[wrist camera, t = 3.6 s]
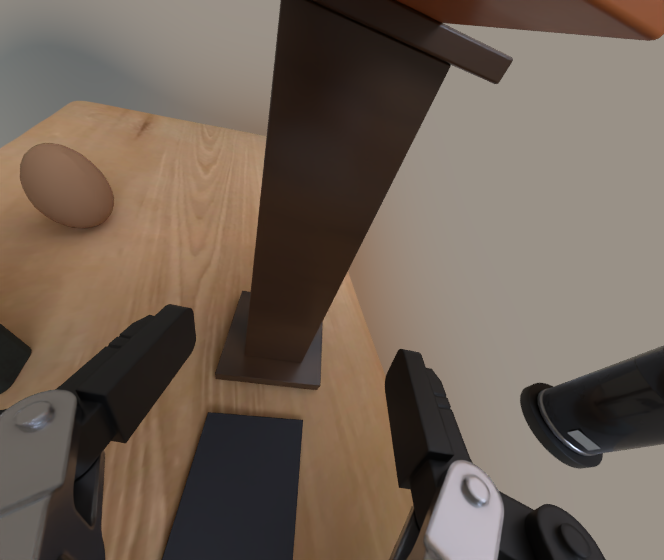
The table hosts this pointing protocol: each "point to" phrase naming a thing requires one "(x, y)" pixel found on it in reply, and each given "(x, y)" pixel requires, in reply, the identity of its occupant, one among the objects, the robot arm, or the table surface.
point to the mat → (240, 491)
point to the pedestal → (333, 165)
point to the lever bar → (553, 15)
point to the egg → (66, 186)
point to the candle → (11, 357)
